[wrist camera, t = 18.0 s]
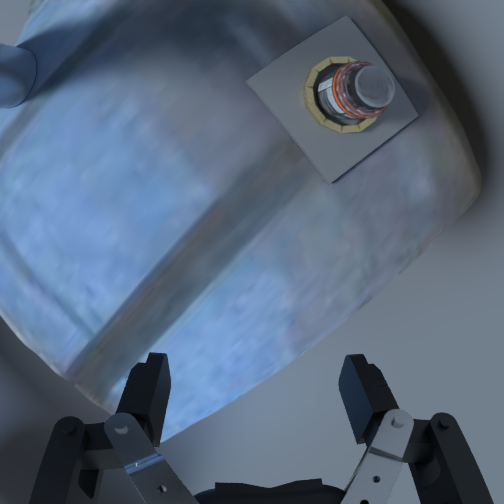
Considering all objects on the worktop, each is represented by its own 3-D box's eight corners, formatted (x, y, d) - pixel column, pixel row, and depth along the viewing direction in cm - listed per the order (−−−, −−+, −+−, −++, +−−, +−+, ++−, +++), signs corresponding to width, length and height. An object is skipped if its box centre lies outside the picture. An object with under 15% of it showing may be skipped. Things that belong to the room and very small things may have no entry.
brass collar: (287, 86, 33) (289, 83, 31) (344, 47, 31) (350, 43, 29) (334, 146, 36) (339, 147, 34) (387, 106, 34) (395, 106, 32)
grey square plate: (245, 82, 33) (245, 81, 32) (344, 17, 30) (346, 14, 29) (326, 183, 38) (328, 184, 37) (415, 115, 35) (418, 115, 34)
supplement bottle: (355, 69, 32) (397, 52, 21) (366, 115, 34) (412, 114, 24) (309, 76, 32) (337, 58, 22) (322, 123, 35) (354, 123, 24)
